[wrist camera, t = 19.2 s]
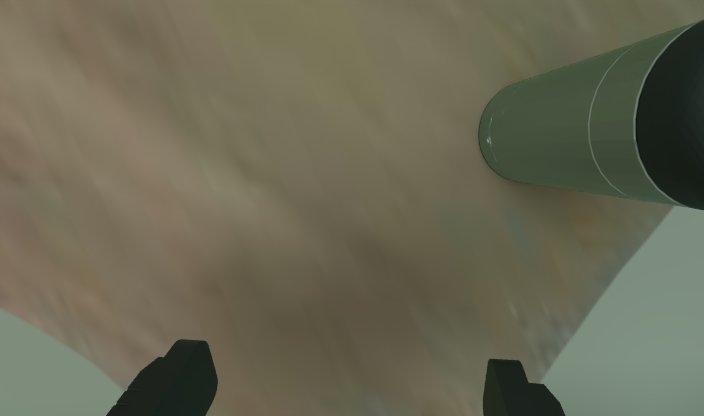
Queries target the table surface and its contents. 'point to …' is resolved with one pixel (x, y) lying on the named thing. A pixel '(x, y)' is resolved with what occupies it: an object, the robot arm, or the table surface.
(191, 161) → the table surface
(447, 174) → the table surface
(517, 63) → the table surface
